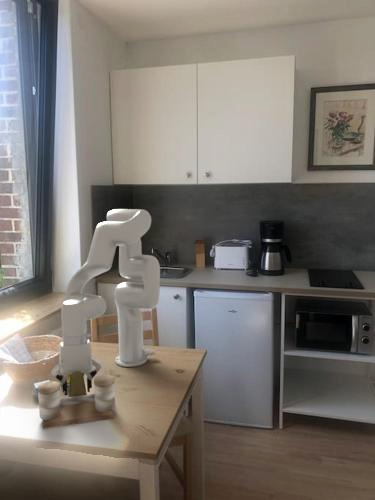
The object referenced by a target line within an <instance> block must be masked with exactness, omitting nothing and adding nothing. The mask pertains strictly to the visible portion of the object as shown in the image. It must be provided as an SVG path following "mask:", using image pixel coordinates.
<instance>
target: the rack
mask: <svg viewBox="0 0 375 500" xmlns="http://www.w3.org/2000/svg"><path fill="white" fill-rule="evenodd" d="M93 378H94V379H93V386H94V387H93V390H94V393H90V394H87V395H82V396H74V397H69V396H68V397H62V398H61V383H60V382H59V381H56V380H55V381H53V380H49V382H44V383H42V384H40V385H39V386H38V397H39V399H38V410H39V412H38V413H39V418H40V419H41V420H42V423H41V424H42V429H49V428H57V427H62V426H63V427H64V426H71V425H76V424H83V423H89V422H97V421H103V420H109V419H114V409H115V408H116V396H115V395H116V389H115V377H114V376H113V375H111V374H100V375H98V376H96V377H93Z"/></svg>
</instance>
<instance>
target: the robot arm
mask: <svg viewBox="0 0 375 500" xmlns="http://www.w3.org/2000/svg"><path fill="white" fill-rule="evenodd" d="M151 225H152V215H150V213H149V211H147V210H146V209H141V208H140V209H139V208H138V209H137V208H135V209H134V208H132V209H131V208H129V209H128V208H114V209H112V210H109V211H108V212H107V214H106V221H102V222H99V223H98V224H97V225H96V226H95V230H94V233H93V236H92V237H93V238H92V239H91V240H92V241H91V244H90V249H89V252H88V254H87V255H88V256H87V259H86V261H85V263H84V264H83V265H82V266H80V267H79V269H78V270H77V271H76V272H75V273H74V274H73V275H72V276H71V278H70V280H69V282H68V284H67V287H66V291H65V295H64V298H63V302H62V303H61V305H60V313H61V329H62V330H61V331H62V333H61V334H62V342H60V346H59V362H58V363H57V364H56V365H55V366H54V367H53V369H51V371H50V374H51V375H52V376H53V377H54V378H56V379H57V380H58V382H60V381H61V382H60V384H61V383H62V385H61V386H62V392H63V393H64V396H69V390H68V386H67V380H66V379H67V376H68V375H71V374H72V373H73V372H75V371H80V372H81V373H85V374H84V375H86V386H87V388H86V392H87V393H90V392H91V389H93V385H92V384H93V383H92V380H93V378H95V376H96V375H97V373H98V372H100V370H101V369H102V365H101V363H98V361H96V360H95V359H94V358H93V353H92V345H91V342H90V340H89V339H92V338H93V337H92V333H88V332H87V331H88V329H87V328H88V327H87V321H88V320H93V319H97V318H101V316H103V315H104V314H105V313H106V311H107V307H108V304H107V301H106V299H105V298H104V297H103V296H101V295H96V294H91V293H83V289H84V287H85V286H86V284H87V283H88V282H90V280H91V279H93V278H94V277H97V276H99V275H101V274H103V273H106V272H108V271H110V269H111V268H112V265H113V262H114V257H115V255H116V249H117V247H119V248H118V250H119V251H118V272H119V275H120V276H121V277H122V278H124V279H127V280H139V281H142V282H141V283H140V282H133V281H123V282H121V283H118V285H116V287H115V289H114V293H113V295H114V302H115V306H116V312H117V327H118V328H117V331H118V335H117V336H118V355H116V357H115V361H114V362H115V364H117V365H118V366H120V367H124V368H126V367H127V368H133V367H138V366H143V365H144V364H145V363H147V362H148V357H149V356H155V355H156V350H155V349H152V348H147V349H146V348H144V327H143V325H144V322H143V319H144V318H143V314H142V312H141V309H144V310H153V309H155V308H156V307H157V306H158V304H159V301H160V287H161V286H160V285H161V284H160V280H161V265H160V263H159V262H160V261H159V260H158V259H157V257H155V256H154V255H148V254H143V253H142V241H141V238H142V237H143V236H144V235H145V234H146V233H147V232H148V231H149V229H150V228H151ZM93 366H94V369H93ZM58 371H59V372H58ZM60 373H61V374H62V375H61V374H60Z"/></svg>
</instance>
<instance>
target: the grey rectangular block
mask: <svg viewBox="0 0 375 500" xmlns="http://www.w3.org/2000/svg"><path fill="white" fill-rule="evenodd" d="M49 381H50V380H49V379H48V380H44V381H43V380H42V381H39V382H35V383H33V393H34V394H35V395H34V397H35V398H36V400H39V397H38V386H39V385H40V384H42V383H44V382H49Z"/></svg>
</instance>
